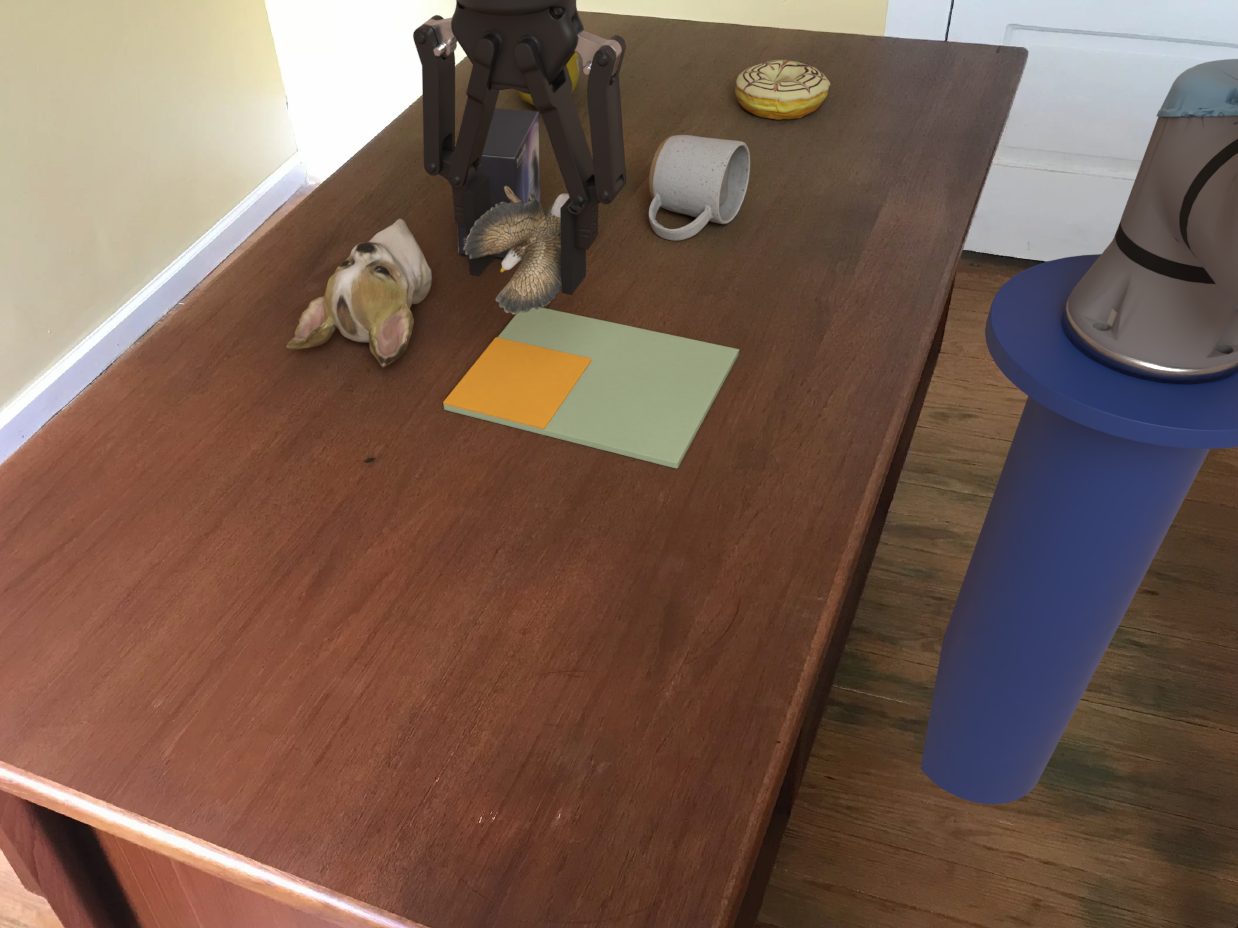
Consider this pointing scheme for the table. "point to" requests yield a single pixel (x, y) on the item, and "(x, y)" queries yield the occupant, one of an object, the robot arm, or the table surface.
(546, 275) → the eagle figurine
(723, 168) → the ceramic mug
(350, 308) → the ceramic sculpture
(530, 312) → the corner mat
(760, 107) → the decorated donut
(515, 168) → the small box
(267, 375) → the table surface
